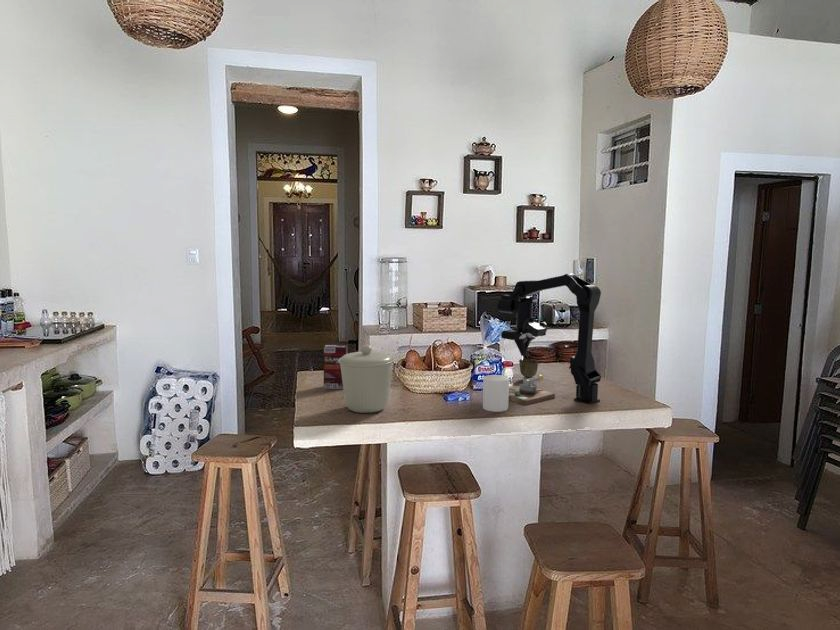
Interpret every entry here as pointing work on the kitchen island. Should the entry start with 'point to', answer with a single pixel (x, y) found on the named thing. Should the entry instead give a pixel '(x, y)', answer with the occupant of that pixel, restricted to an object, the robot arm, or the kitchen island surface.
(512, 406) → the kitchen island surface
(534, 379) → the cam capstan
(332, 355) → the supplement box
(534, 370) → the cup
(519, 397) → the stand
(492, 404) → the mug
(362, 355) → the canister
